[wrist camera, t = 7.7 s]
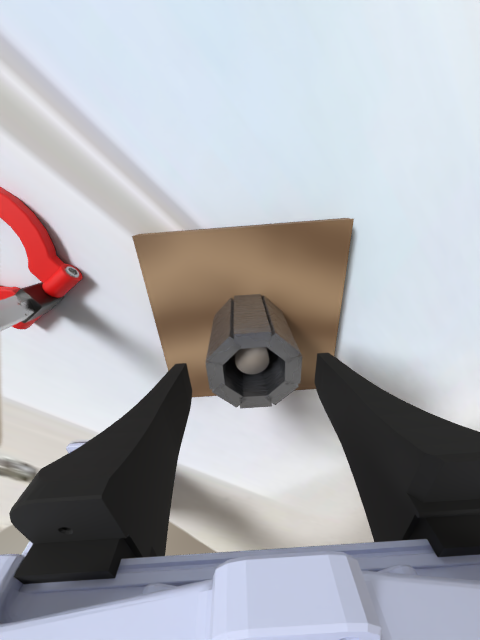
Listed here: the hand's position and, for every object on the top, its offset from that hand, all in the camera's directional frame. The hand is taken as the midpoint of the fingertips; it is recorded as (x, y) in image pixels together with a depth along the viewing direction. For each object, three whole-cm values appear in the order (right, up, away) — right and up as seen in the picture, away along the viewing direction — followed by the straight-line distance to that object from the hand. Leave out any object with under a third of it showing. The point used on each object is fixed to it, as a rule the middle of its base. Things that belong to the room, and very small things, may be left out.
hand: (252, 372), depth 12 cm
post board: (0, +3, +6) cm, 7 cm away
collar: (0, +2, +5) cm, 6 cm away
